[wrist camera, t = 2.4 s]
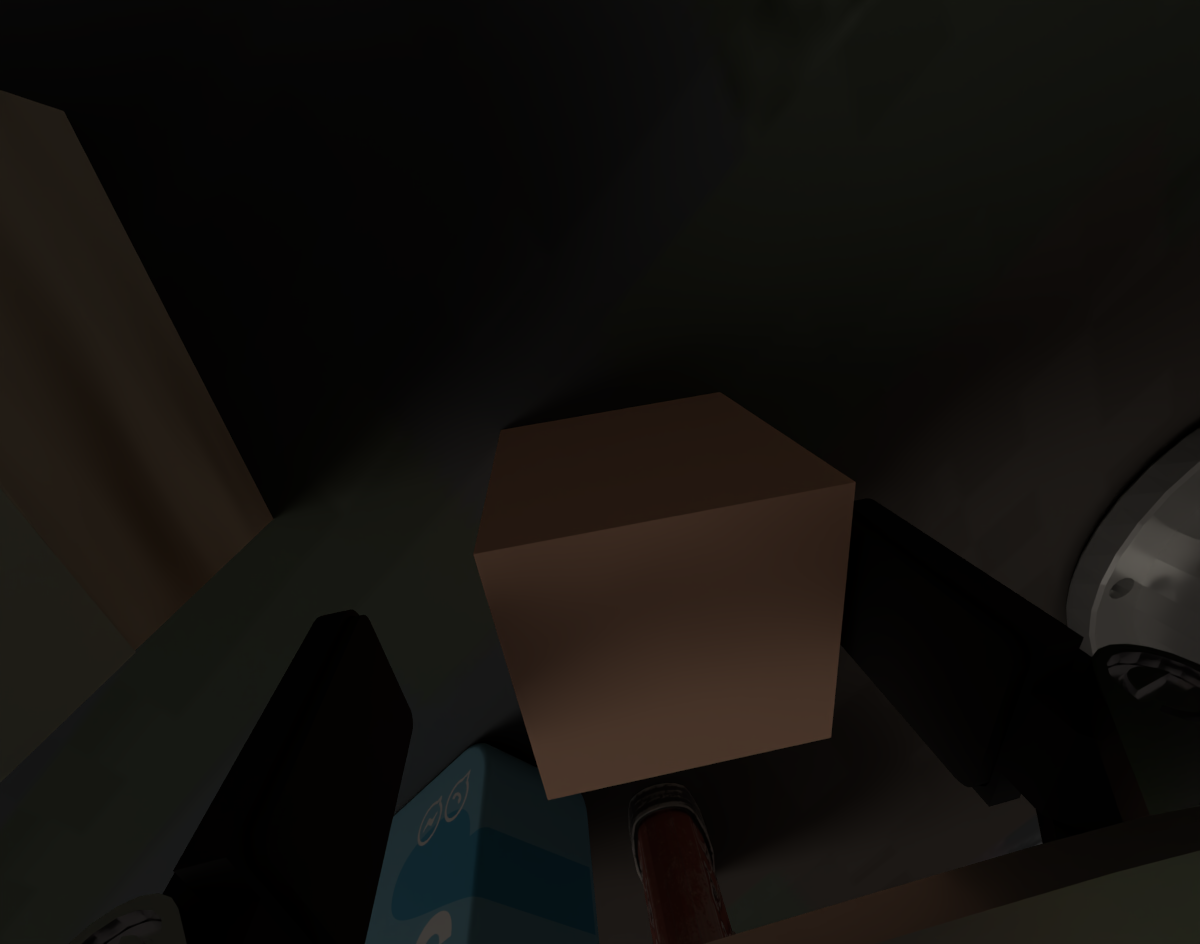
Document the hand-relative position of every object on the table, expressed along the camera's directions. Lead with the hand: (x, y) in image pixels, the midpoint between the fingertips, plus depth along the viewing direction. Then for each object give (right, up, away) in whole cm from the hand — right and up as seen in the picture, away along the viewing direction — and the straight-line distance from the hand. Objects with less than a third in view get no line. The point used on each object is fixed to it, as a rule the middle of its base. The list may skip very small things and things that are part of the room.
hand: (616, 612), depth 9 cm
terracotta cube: (0, +2, +4) cm, 5 cm away
